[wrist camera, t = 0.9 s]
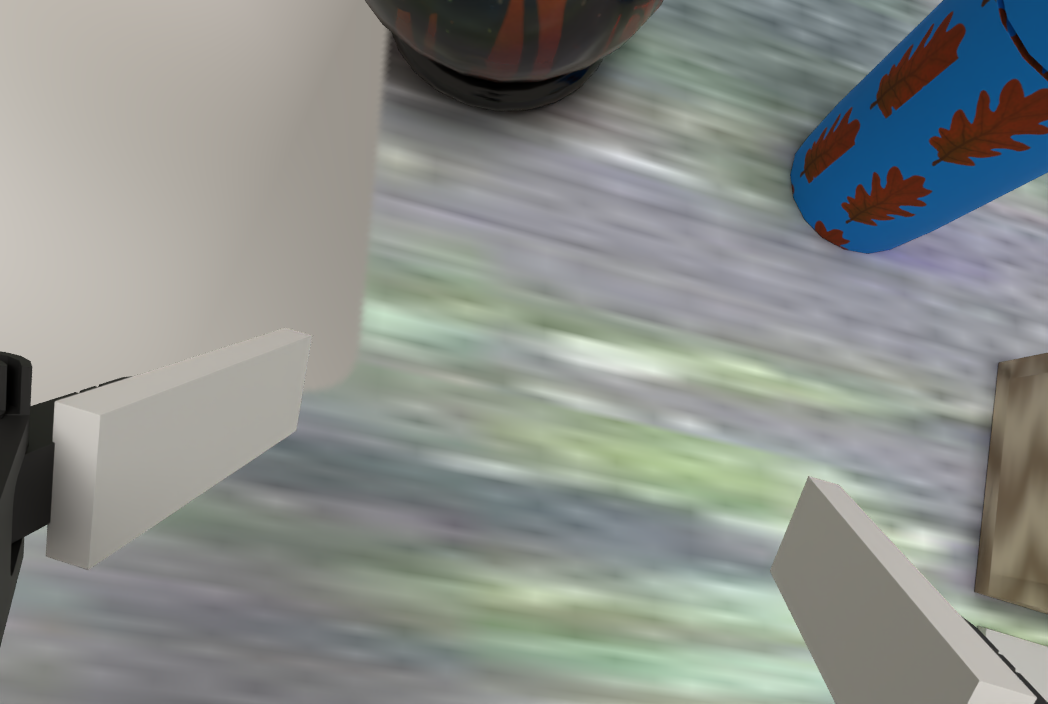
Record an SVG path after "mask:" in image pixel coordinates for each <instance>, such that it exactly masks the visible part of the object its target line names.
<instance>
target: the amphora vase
mask: <svg viewBox="0 0 1048 704" xmlns="http://www.w3.org/2000/svg"><path fill="white" fill-rule="evenodd" d="M365 1H366V3H367V4H368V5H369V7H370V8H371V9H372V11H373V12H374V14H375V15H376V16H377V18H378V19H379V20H380V22H381V23H382V24H383V25H384V26H385V27H386V28H388V29H389V30H390V31H391V32H392V34H393V37H394V40H395V42H396V45H397V47H398V50H399V51H400V53H401V54H402V55H403V57H404V58H405V59H406V61H407V62H408V63H409V65H410V66H411V68H412V69H413V70H414V72H415V73H416V74H417V75H419V76H420V77H421V78H423V79H424V80H425V81H426V82H428V83H429V84H430V85H431V86H433V87H434V88H435V89H436V90H438V91H439V92H441V93H443V94H445V95H447V96H449V97H452V98H454V99H456V100H458V101H460V102H462V103H465V104H467V105H471V106H476V107H481V108H485V109H490V110H495V111H512V110H529V109H533V108H536V107H540V106H544V105H547V104H551V103H554V102H557V101H558V100H560V99H562V98H564V97H565V96H567V95H569V94H570V93H572V92H574V91H575V90H577V89H579V88H580V87H581V86H582V85H583V84H584V83H585V82H586V81H587V80H588V78H589V77H590V76H591V75H592V74H593V73H594V72H595V71H596V70H597V69H598V67H599V65H600V63H601V61H602V59H603V57H605V56H607V55H609V54H610V53H612V52H614V51H616V50H617V49H619V48H620V47H621V46H622V45H623V44H624V43H625V42H626V41H627V40H628V39H630V38H631V37H632V36H633V35H634V34H635V33H636V31H637V30H638V29H639V28H640V27H641V26H642V25H643V24H644V23H645V22H646V21H647V20H648V19H649V18H650V16H651V15H652V14H653V13H654V12H655V11H656V10H657V9H658V8H659V7H660V6H661V4H662V2H663V0H365Z"/></svg>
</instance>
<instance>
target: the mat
mask: <svg viewBox="0 0 1048 704" xmlns="http://www.w3.org/2000/svg"><path fill="white" fill-rule="evenodd" d="M978 629H979V630H980V631H981V632H982V633H983V634H984V635H985V636H986V637H987V638H988V640H989V641H990V642H991V643H992V644H993V645H994V646H995V647H996V648H997V649H998V650H999V654H1001V655H1004V657H1005V658H1006V659H1007V660H1008V661H1009V662H1010V663H1011V664H1012V665H1013V666H1014V667H1015V668H1016V672H1018V673H1020V674H1021V675H1022V676H1023V677H1024V678H1025V679H1026V680H1027V681H1028V682H1029V683H1030V684H1031V685H1032V686H1033V687H1034V688H1035V689H1036V690H1037V692H1038V693H1039V694H1040V695H1041V696H1042V697H1043V698H1044V699H1045V700H1046V701H1047V702H1048V647H1047V646H1043V645H1040V644H1037V643H1033V642H1030V641H1027V640H1023V639H1020V638H1017V637H1013V636H1010V635H1007V634H1003V633H1000V632H997V631H993V630H990V629H987V628H983V627H980V626H978Z"/></svg>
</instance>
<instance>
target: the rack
mask: <svg viewBox="0 0 1048 704" xmlns="http://www.w3.org/2000/svg"><path fill="white" fill-rule="evenodd" d="M975 592H976V593H979V594H983V595H986V596H989V597H993V598H996V599H999V600H1002V601H1006V602H1009V603H1012V604H1016V605H1019V606H1022V607H1026V608H1029V609H1032V610H1035V611H1039V612H1042V613H1045V614H1048V353H1044V354H1039V355H1034V356H1029V357H1024V358H1019V359H1014V360H1009V361H1004V362H999V366H998V375H997V385H996V394H995V404H994V413H993V423H992V432H991V441H990V451H989V460H988V470H987V479H986V489H985V498H984V507H983V517H982V526H981V536H980V545H979V555H978V564H977V573H976V583H975Z"/></svg>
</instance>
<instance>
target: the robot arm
mask: <svg viewBox="0 0 1048 704" xmlns="http://www.w3.org/2000/svg"><path fill="white" fill-rule="evenodd" d="M311 340H312V335H309V334H305V333H302V332H298V331H295V330H291V329H288V328H283V329H280V330H277V331H273V332H270V333H267V334H264V335H261V336H258V337H255V338H251V339H248V340H245V341H242V342H239V343H236V344H233V345H229V346H226V347H223V348H220V349H217V350H214V351H211V352H208V353H205V354H201V355H198V356H195V357H192V358H189V359H186V360H183V361H179V362H176V363H174V364H170V365H167V366H164V367H161V368H157V369H155V370H151V371H148V372H145V373H142V374H139V375H136V376H131V377H123V378H119V379H116V380H113V381H109V382H106V383H103V384H100V385H99V386H98V387H96V386H94V387H91V388H87V389H84V390H81V391H80V393H76V392H74V393H71V394H68V395H65V396H62V397H59V398H55V399H52V400H49V401H46V402H43V403H39V404H37V405H33V406H30V402H31V382H32V365H31V361H29V360H27V359H25V358H24V357H22V356H19V355H15V354H11V353H6V352H0V646H1V642H2V638H3V634H4V630H5V626H6V622H7V618H8V614H9V610H10V607H11V603H12V599H13V595H14V591H15V587H16V583H17V579H18V575H19V572H20V568H21V564H22V560H23V553H24V537H25V536H27V535H29V534H30V533H32V532H34V531H36V530H38V529H40V528H42V527H43V526H45V525H47V524H48V527H47V545H46V556H47V557H50V558H53V559H56V560H59V561H62V562H65V563H68V564H71V565H74V566H78V567H81V568H84V569H87V570H89V569H91V568H92V567H94V566H95V565H97V564H98V563H100V562H101V561H103V560H104V559H105V558H107V557H108V556H110V555H111V554H113V553H114V552H116V551H117V550H119V549H120V548H122V547H123V546H125V545H126V544H128V543H129V542H131V541H132V540H134V539H135V538H137V537H138V536H140V535H141V534H143V533H144V532H146V531H147V530H149V529H150V528H152V527H153V526H155V525H156V524H158V523H159V522H161V521H162V520H164V519H165V518H167V517H168V516H170V515H171V514H173V513H174V512H176V511H177V510H179V509H180V508H182V507H183V506H185V505H186V504H188V503H189V502H191V501H192V500H194V499H195V498H196V497H198V496H199V495H201V494H202V493H204V492H205V491H207V490H208V489H210V488H211V487H213V486H214V485H216V484H217V483H219V482H220V481H222V480H223V479H225V478H226V477H228V476H229V475H231V474H232V473H234V472H235V471H237V470H238V469H240V468H241V467H243V466H244V465H246V464H247V463H249V462H250V461H252V460H253V459H255V458H256V457H258V456H259V455H261V454H262V453H264V452H265V451H267V450H268V449H270V448H271V447H273V446H274V445H276V444H277V443H279V442H280V441H282V440H283V439H285V438H286V437H287V436H289V435H290V434H292V433H293V432H295V431H296V430H297V424H298V418H299V412H300V406H301V400H302V394H303V388H304V382H305V375H306V370H307V363H308V358H309V352H310V346H311ZM770 572H771V574H772V576H773V578H774V580H775V582H776V584H777V586H778V588H779V590H780V592H781V594H782V596H783V598H784V600H785V602H786V604H787V606H788V608H789V610H790V612H791V615H792V617H793V619H794V621H795V623H796V625H797V627H798V629H799V631H800V633H801V635H802V637H803V639H804V641H805V643H806V645H807V647H808V649H809V651H810V653H811V655H812V657H813V659H814V661H815V663H816V665H817V667H818V669H819V671H820V673H821V675H822V677H823V679H824V681H825V683H826V685H827V687H828V689H829V691H830V693H831V695H832V697H833V699H834V701H835V703H836V704H1048V702H1047V701H1046V700H1045V699H1044V698H1043V697H1042V696H1041V695H1040V694H1039V693H1038V692H1037V690H1036V689H1035V688H1034V687H1033V686H1032V685H1031V684H1030V683H1029V682H1028V681H1027V680H1026V679H1025V678H1024V677H1023V676H1022V675H1021V674H1020V673H1018V672H1016V668H1015V667H1014V666H1013V665H1012V664H1011V663H1010V662H1009V661H1008V660H1007V659H1006V658H1005V657H1004V655H1001V654H999V650H998V649H997V648H996V647H995V646H994V645H993V644H992V643H991V642H990V641H989V640H988V638H987V637H986V636H985V635H984V634H983V633H982V632H981V631H980V630H979V629H978V628H976V627H975V626H974V625H973V624H971V623H970V622H969V621H967V620H966V619H965V618H963V617H962V616H961V615H960V614H959V613H958V612H957V611H956V610H955V609H954V608H953V607H952V606H951V605H950V604H949V603H948V601H947V600H946V599H945V598H944V597H943V596H942V595H941V594H940V593H939V592H938V591H937V590H936V589H935V587H934V586H933V585H932V584H931V583H930V582H929V581H928V580H927V579H926V578H925V577H924V576H923V575H922V573H921V572H920V571H919V570H918V569H917V568H916V567H915V566H914V565H913V564H912V563H911V562H910V561H909V559H908V558H907V557H906V556H905V555H904V554H903V553H902V552H901V551H900V550H899V549H898V548H897V547H896V545H895V544H894V543H893V542H892V541H891V540H890V539H889V538H888V537H887V536H886V535H885V534H884V533H883V531H882V530H881V529H880V528H879V527H878V526H877V525H876V524H875V523H874V522H873V521H872V520H871V519H870V517H869V516H868V515H867V514H866V513H865V512H864V511H863V510H862V509H861V508H860V507H859V506H858V505H857V503H856V502H855V501H854V500H853V499H852V498H851V497H850V496H849V495H848V494H847V493H846V492H845V491H844V489H843V488H842V487H841V486H840V485H838V484H834V483H831V482H827V481H824V480H820V479H817V478H813V477H810V476H808V478H807V481H806V483H805V486H804V488H803V491H802V493H801V496H800V498H799V501H798V503H797V506H796V508H795V510H794V513H793V515H792V518H791V520H790V523H789V525H788V528H787V530H786V533H785V535H784V538H783V540H782V542H781V545H780V547H779V550H778V552H777V555H776V557H775V560H774V562H773V565H772V567H771V570H770Z"/></svg>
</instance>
